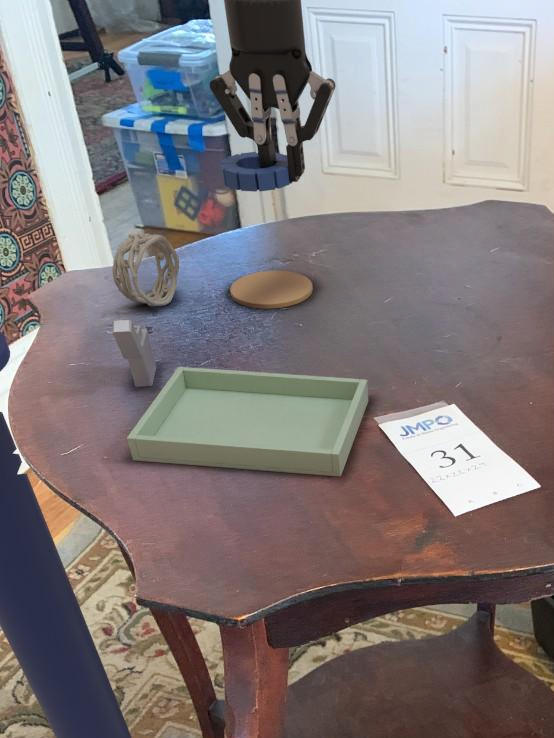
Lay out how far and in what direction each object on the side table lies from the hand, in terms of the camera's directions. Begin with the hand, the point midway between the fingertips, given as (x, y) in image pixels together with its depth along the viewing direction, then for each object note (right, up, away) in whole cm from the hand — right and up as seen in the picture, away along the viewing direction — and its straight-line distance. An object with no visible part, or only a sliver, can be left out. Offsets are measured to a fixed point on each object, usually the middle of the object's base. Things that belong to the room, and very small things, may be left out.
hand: (283, 178), depth 95 cm
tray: (0, -31, -13) cm, 34 cm away
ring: (-3, 0, 0) cm, 3 cm away
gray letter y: (-13, -25, -7) cm, 29 cm away
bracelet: (-17, -12, +7) cm, 22 cm away
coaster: (-3, -9, +10) cm, 14 cm away
